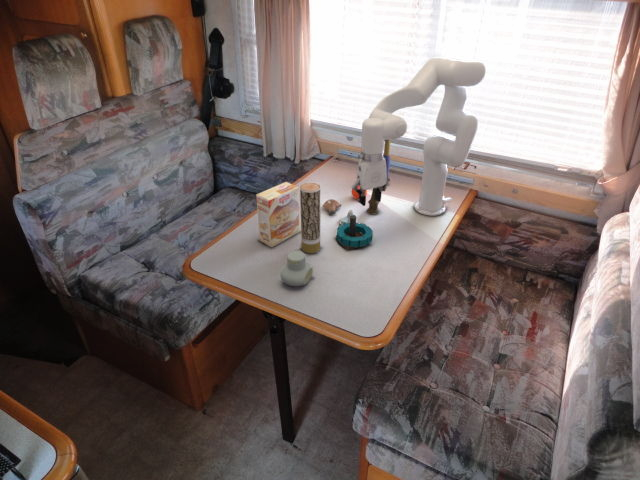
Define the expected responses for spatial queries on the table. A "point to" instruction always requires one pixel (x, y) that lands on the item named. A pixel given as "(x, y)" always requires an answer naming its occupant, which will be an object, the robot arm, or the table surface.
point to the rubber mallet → (387, 155)
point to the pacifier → (346, 218)
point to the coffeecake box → (278, 213)
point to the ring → (355, 241)
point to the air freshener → (296, 269)
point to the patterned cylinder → (310, 217)
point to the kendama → (374, 202)
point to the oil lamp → (331, 206)
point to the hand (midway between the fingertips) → (370, 201)
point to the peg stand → (352, 231)
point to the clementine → (355, 194)
